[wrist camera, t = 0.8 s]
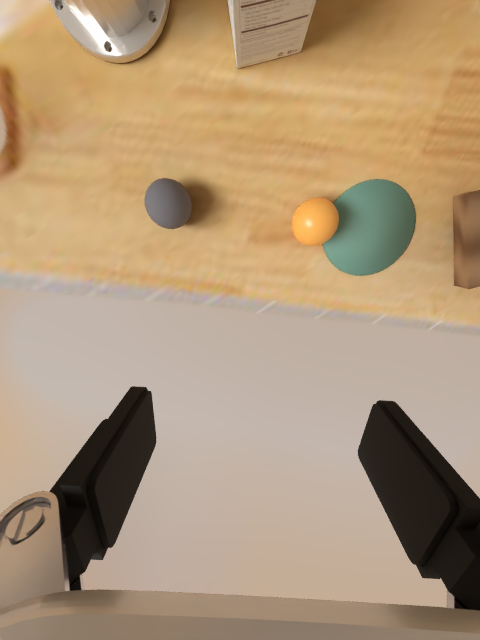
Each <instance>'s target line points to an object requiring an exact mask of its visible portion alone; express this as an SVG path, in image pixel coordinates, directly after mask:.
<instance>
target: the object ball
mask: <svg viewBox="0 0 480 640" xmlns="http://www.w3.org/2000/svg"><path fill="white" fill-rule="evenodd" d="M338 223H339V215H338V211H337V209H336V207H335V205H334V204H333V203H332V202H331V201H329V200H327V199H325V198H312V199H309V200H307V201H305V202H303V203H302V204H301V205H300V206H299V207H298V208H297V210H296V211H295V213H294V216H293V219H292V230H293V233H294V235H295V237H296V239H297V240H298V241H299V242H301V243H302V244H304V245H307V246H318V245H321V244H323V243H325V242H327V241H328V240H329V239H330V238H331V237H332V236H333V235H334V233H335V232H336V230H337V227H338Z"/></svg>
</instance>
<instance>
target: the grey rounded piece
mask: <svg viewBox="0 0 480 640" xmlns="http://www.w3.org/2000/svg"><path fill="white" fill-rule="evenodd" d="M145 207H146V210H147V212H148V214H149V216H150V218H151V219H152V220H153V221H154V222H155V223H156V224H158V225H159V226H161V227H164V228H167V229H175V228H179V227H181V226H183V225H184V224H185V223H186V222H187V221H188V219H189V218H190V215H191V212H192V202H191V198H190V195H189V193H188V192H187V190H186V189H185V188H184V187H183V186H182V185H181V184H180V183H179V182H177V181H175V180H172V179H168V178H163V179H158V180H156V181H154V182H153V183H152V184H151V185H150V186H149V187H148V189H147V191H146V194H145Z"/></svg>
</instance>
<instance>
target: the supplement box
mask: <svg viewBox="0 0 480 640" xmlns="http://www.w3.org/2000/svg"><path fill="white" fill-rule="evenodd" d="M315 3H316V0H228V7H229V14H230V22H231V28H232V35H233V42H234V50H235V57H236V66H237V68H241V67H246V66H250V65H253V64H258V63H262V62H266V61H269V60H273V59H277V58H281V57H285V56H289V55H292V54H296V53H299V52H301V50H302V46H303V43H304V40H305V37H306V33H307V30H308V26H309V23H310V20H311V16H312V13H313V10H314V7H315Z"/></svg>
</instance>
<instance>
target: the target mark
mask: <svg viewBox="0 0 480 640" xmlns="http://www.w3.org/2000/svg"><path fill="white" fill-rule="evenodd" d="M334 205H335V207H336V209H337V211H338V215H339V223H338V227H337V230H336V232H335V233H334V235H333V236H332V237H331V238H330V239H329V240H328V241H327V242H325V243H323V246H324V250H325V253H326V255H327V257H328V259H329V260H330V261H331V263H332V264H333V265H334V266H335V267H336V268H338V269H339V270H341V271H343V272H345V273H348V274H351V275H358V276H363V275H370V274H374V273H377V272H379V271H382V270H384V269H385V268H387V267H389V266H390V265H391V264H393V263H394V262H395V261H396V260H397V259H398V258H399V257H400V256H401V255H402V254H403V252H404V251H405V249H406V248H407V246H408V244H409V243H410V240H411V238H412V235H413V232H414V228H415V209H414V205H413V203H412V200H411V198H410V197H409V195H408V194H407V192H406V191H405V190H404V189H403V188H402V187H400V186H399V185H397V184H396V183H393V182H391V181H387V180H380V179H375V180H368V181H364V182H362V183H359V184H357V185H355V186H353V187H351V188H350V189H348V190H347V191H345V192H344V193H343V194H342V195H341V196H340V197H339V198H338V199H337V200H336V201H335V203H334Z"/></svg>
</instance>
